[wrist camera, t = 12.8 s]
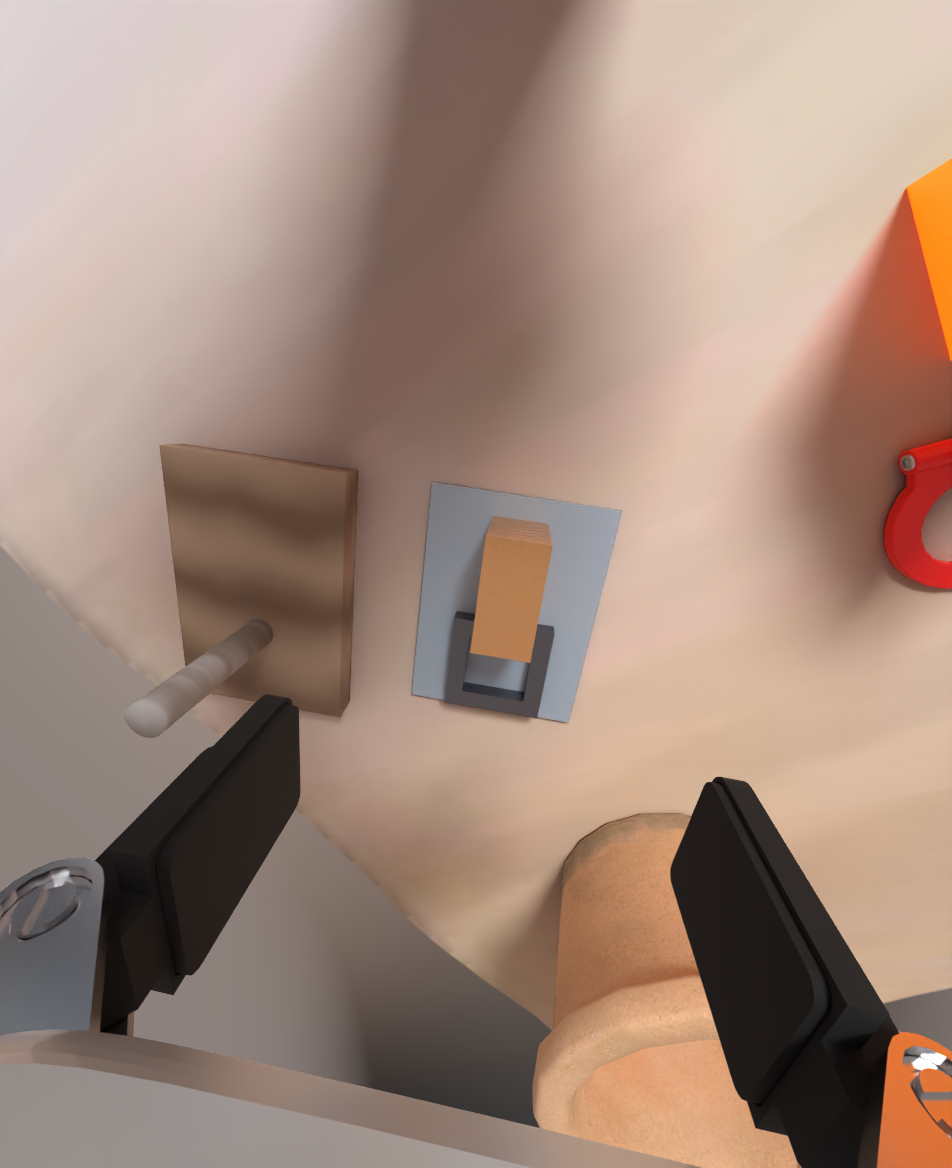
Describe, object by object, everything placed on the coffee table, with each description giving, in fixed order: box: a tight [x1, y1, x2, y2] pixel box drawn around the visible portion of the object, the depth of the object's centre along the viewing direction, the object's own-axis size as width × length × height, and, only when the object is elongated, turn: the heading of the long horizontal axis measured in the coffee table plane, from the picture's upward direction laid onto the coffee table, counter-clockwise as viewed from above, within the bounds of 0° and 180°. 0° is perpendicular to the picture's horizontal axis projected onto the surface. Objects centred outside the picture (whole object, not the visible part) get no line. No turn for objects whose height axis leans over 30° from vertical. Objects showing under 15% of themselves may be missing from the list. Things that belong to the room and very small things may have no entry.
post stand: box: [125, 444, 358, 738], centre depth 26 cm, size 18×12×12 cm, turn 172°
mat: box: [412, 482, 622, 723], centre depth 30 cm, size 16×12×1 cm
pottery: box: [533, 813, 902, 1168], centre depth 31 cm, size 22×22×14 cm
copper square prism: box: [444, 516, 555, 718], centre depth 28 cm, size 14×7×6 cm, turn 173°
